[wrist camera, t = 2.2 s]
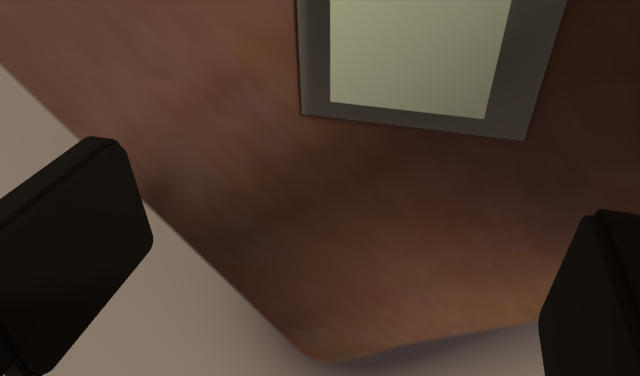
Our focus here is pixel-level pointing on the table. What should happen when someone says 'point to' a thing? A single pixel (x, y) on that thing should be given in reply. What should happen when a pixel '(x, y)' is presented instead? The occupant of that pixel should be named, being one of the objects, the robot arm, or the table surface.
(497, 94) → the mat
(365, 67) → the block
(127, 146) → the table surface
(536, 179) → the table surface
